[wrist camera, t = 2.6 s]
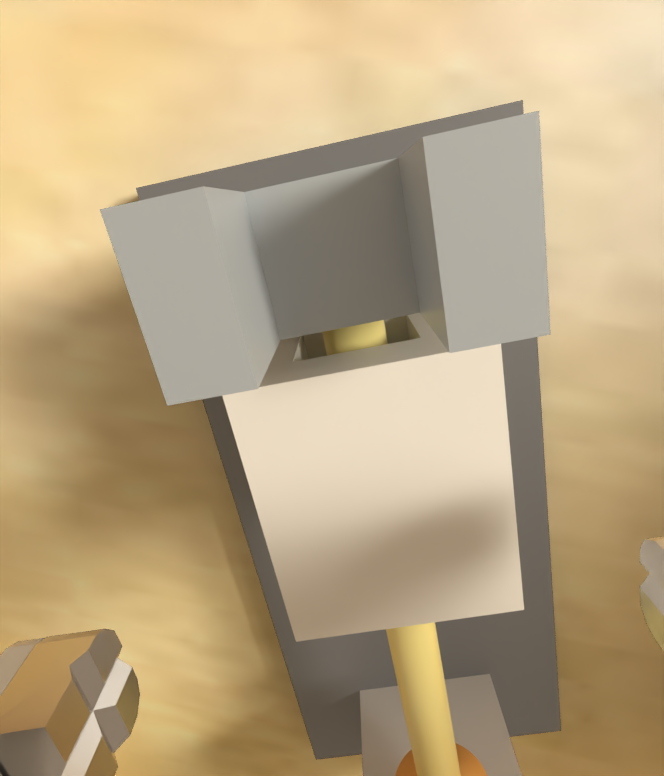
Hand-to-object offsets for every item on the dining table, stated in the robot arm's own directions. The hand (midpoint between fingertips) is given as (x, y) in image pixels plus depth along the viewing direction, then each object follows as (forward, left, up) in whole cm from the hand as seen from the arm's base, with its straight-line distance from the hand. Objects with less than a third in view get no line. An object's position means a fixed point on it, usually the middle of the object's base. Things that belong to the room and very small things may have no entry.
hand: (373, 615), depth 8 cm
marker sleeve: (0, 0, -7) cm, 7 cm away
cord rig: (0, +6, -12) cm, 13 cm away
